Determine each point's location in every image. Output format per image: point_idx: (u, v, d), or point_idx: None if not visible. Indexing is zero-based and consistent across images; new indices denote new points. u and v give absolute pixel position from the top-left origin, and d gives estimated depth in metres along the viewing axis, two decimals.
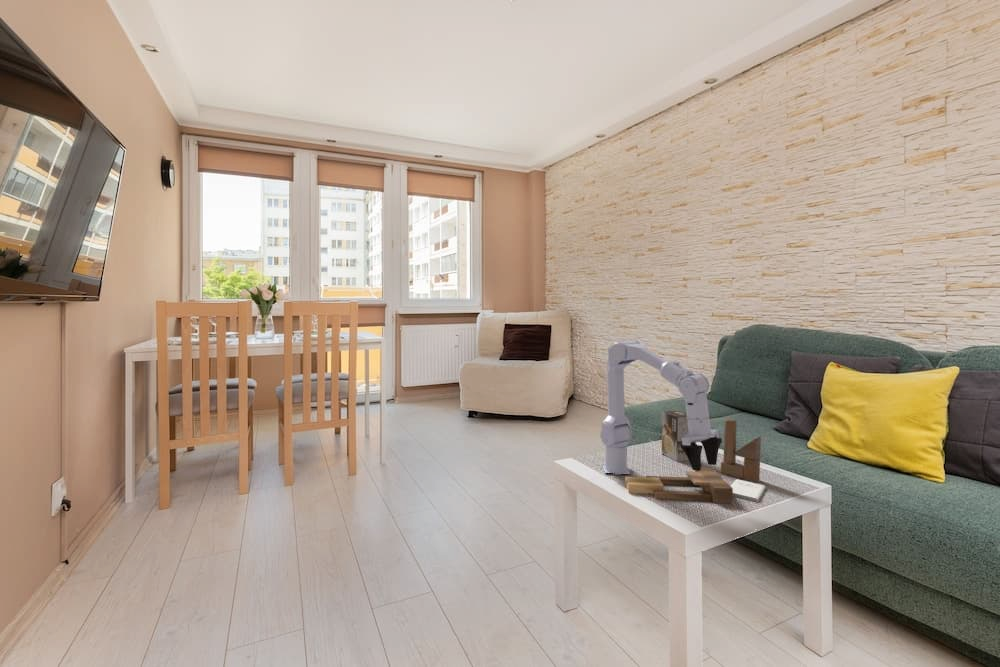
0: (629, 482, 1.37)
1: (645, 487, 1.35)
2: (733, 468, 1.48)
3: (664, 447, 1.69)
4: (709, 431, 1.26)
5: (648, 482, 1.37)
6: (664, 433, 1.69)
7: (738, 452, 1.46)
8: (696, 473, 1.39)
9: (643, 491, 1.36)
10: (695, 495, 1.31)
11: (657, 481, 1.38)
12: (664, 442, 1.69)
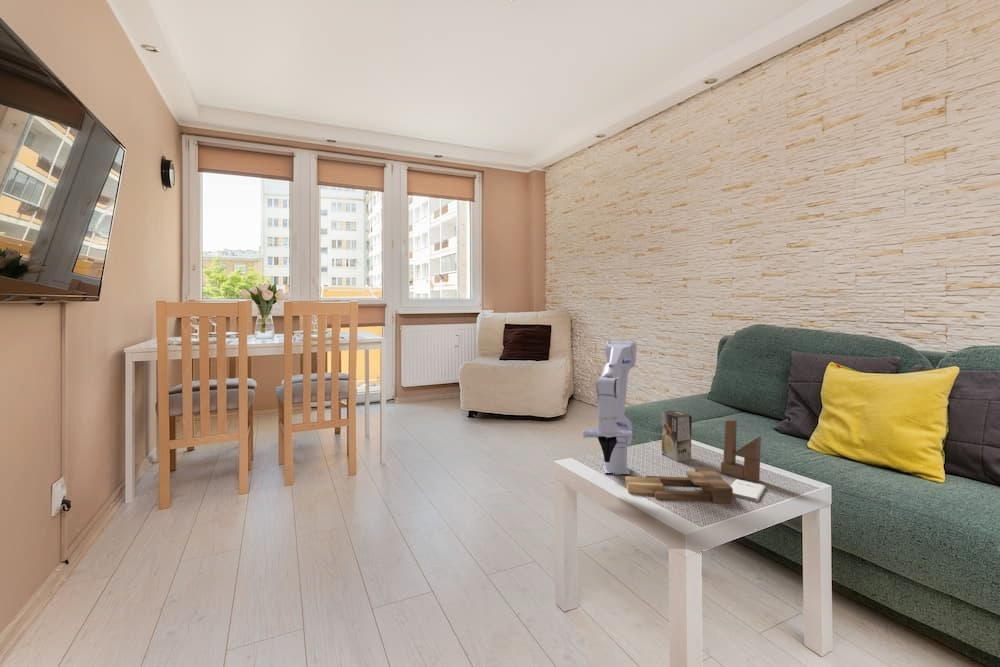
0: (629, 482, 1.37)
1: (644, 487, 1.35)
2: (733, 468, 1.48)
3: (664, 447, 1.69)
4: (609, 431, 1.36)
5: (648, 482, 1.37)
6: (664, 433, 1.69)
7: (738, 452, 1.46)
8: (696, 473, 1.39)
9: (643, 491, 1.36)
10: (695, 495, 1.31)
11: (657, 481, 1.38)
12: (664, 442, 1.69)
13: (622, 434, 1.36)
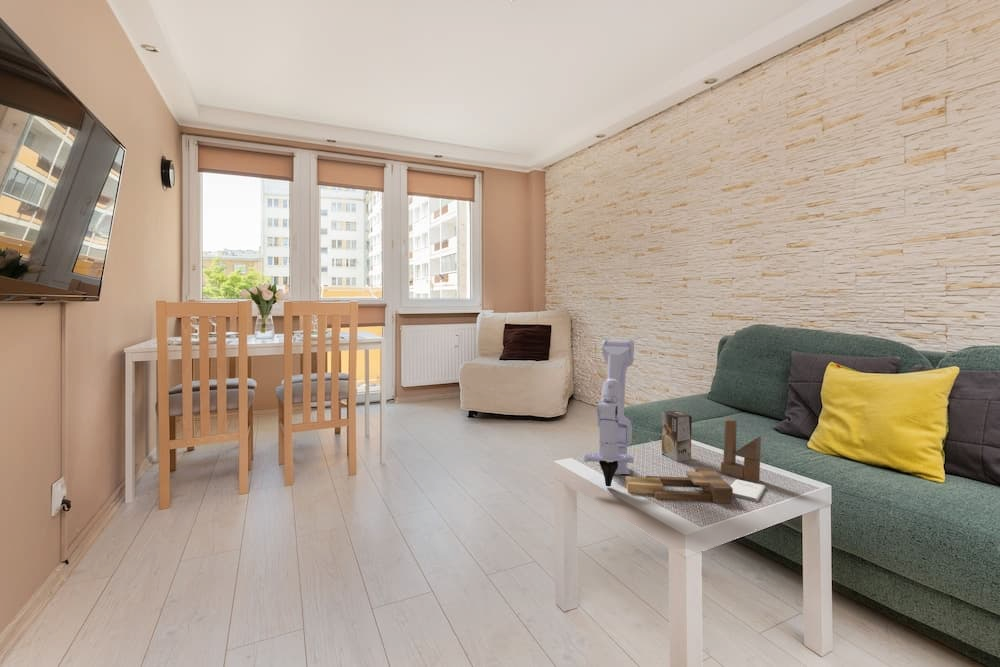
0: (629, 482, 1.37)
1: (644, 487, 1.35)
2: (733, 468, 1.48)
3: (664, 447, 1.69)
4: (610, 455, 1.36)
5: (648, 482, 1.37)
6: (664, 433, 1.69)
7: (738, 452, 1.46)
8: (696, 473, 1.39)
9: (642, 491, 1.36)
10: (695, 495, 1.31)
11: (657, 481, 1.38)
12: (664, 442, 1.69)
13: (623, 458, 1.37)
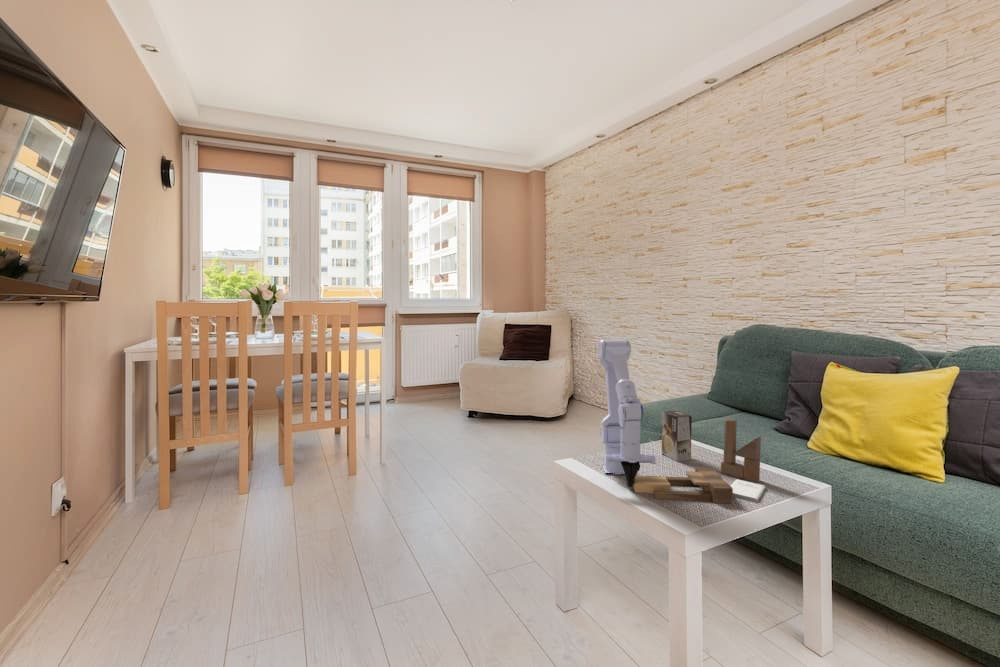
0: (636, 481, 1.37)
1: (652, 486, 1.36)
2: (733, 468, 1.48)
3: (664, 447, 1.69)
4: (632, 456, 1.35)
5: (655, 481, 1.37)
6: (664, 433, 1.69)
7: (738, 452, 1.46)
8: (696, 473, 1.39)
9: (650, 490, 1.36)
10: (695, 495, 1.31)
11: (664, 480, 1.38)
12: (664, 442, 1.69)
13: (645, 459, 1.36)
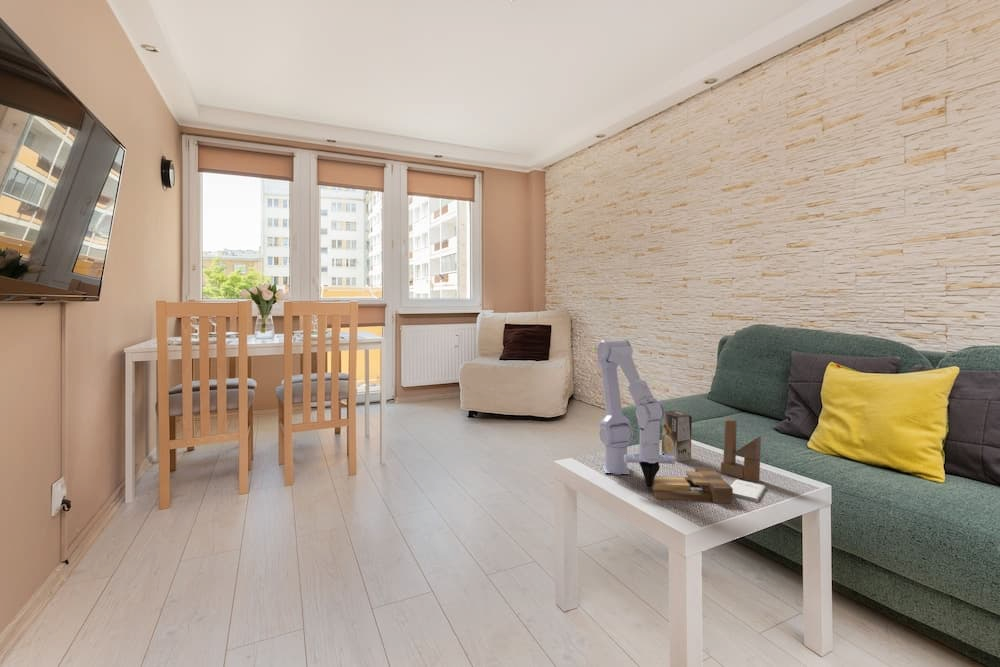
0: (655, 482, 1.37)
1: (671, 487, 1.35)
2: (733, 468, 1.48)
3: (664, 447, 1.69)
4: (651, 457, 1.35)
5: (674, 482, 1.36)
6: (664, 433, 1.69)
7: (738, 452, 1.46)
8: (696, 473, 1.39)
9: None
10: (695, 495, 1.31)
11: (683, 480, 1.38)
12: (664, 442, 1.69)
13: (665, 460, 1.36)
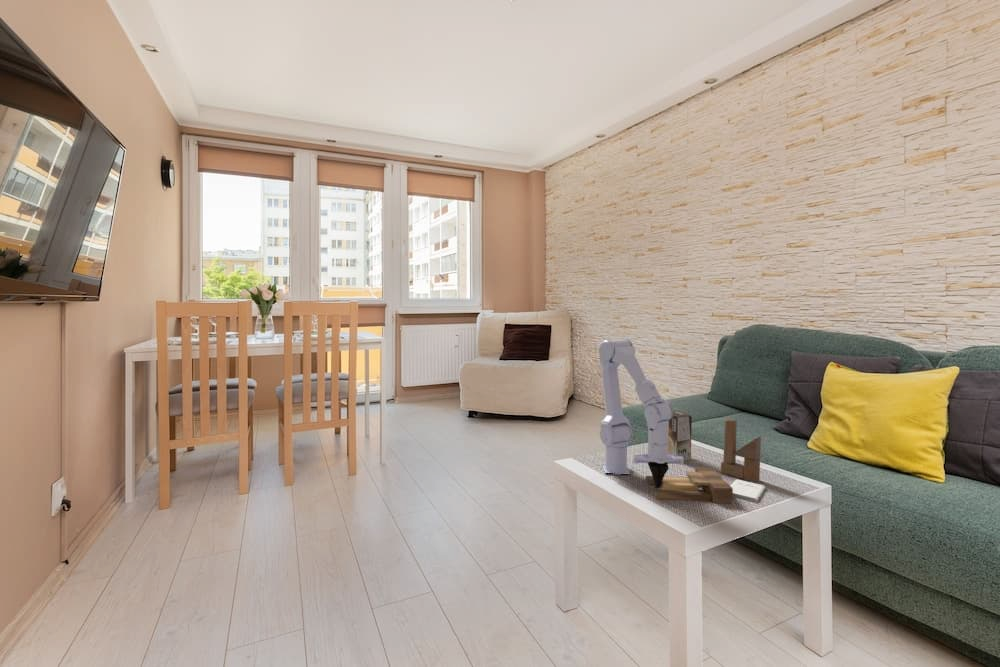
0: (664, 482, 1.37)
1: (680, 487, 1.35)
2: (733, 468, 1.48)
3: None
4: (660, 457, 1.35)
5: (683, 482, 1.37)
6: None
7: (738, 452, 1.46)
8: (696, 473, 1.39)
9: None
10: (695, 495, 1.31)
11: (691, 481, 1.38)
12: None
13: (674, 460, 1.35)
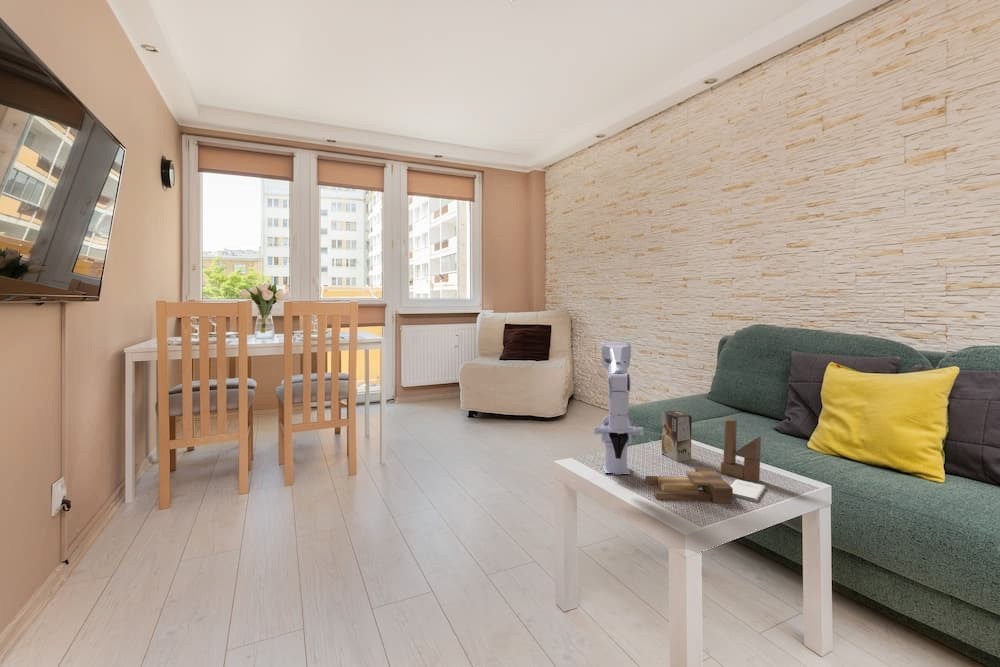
0: (664, 483, 1.36)
1: (680, 487, 1.35)
2: (733, 468, 1.48)
3: (664, 447, 1.69)
4: (620, 427, 1.36)
5: (683, 482, 1.37)
6: (664, 433, 1.69)
7: (738, 452, 1.46)
8: (696, 473, 1.39)
9: None
10: (695, 495, 1.31)
11: (691, 481, 1.38)
12: (664, 442, 1.69)
13: (633, 430, 1.36)
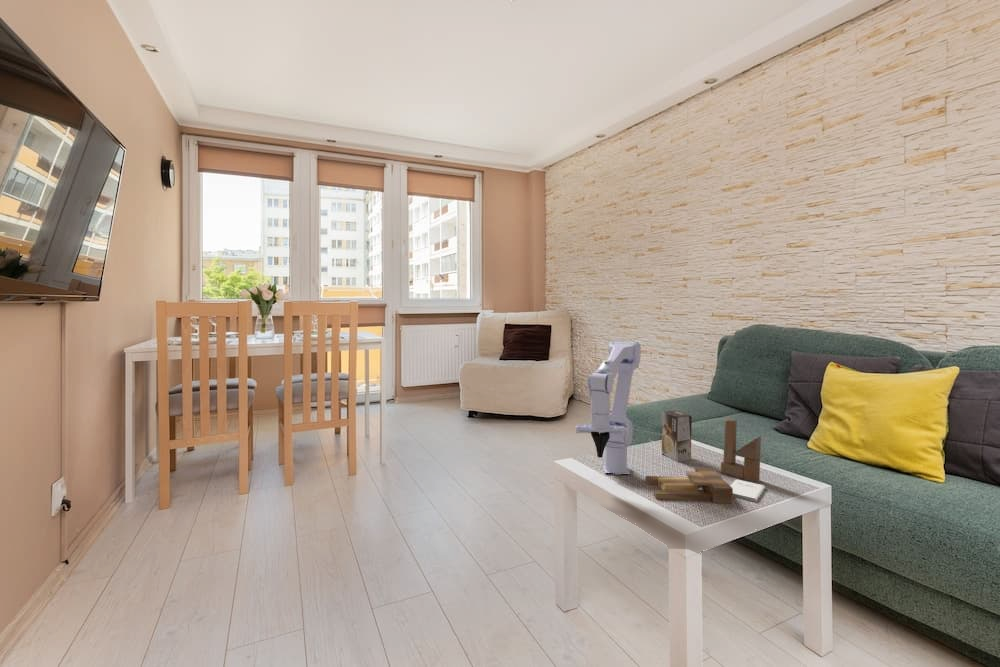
0: (664, 483, 1.36)
1: (681, 487, 1.35)
2: (733, 468, 1.48)
3: (664, 447, 1.69)
4: (601, 426, 1.37)
5: (683, 482, 1.37)
6: (664, 433, 1.69)
7: (738, 452, 1.46)
8: (696, 473, 1.39)
9: None
10: (695, 495, 1.31)
11: None
12: (664, 442, 1.69)
13: (615, 429, 1.37)
